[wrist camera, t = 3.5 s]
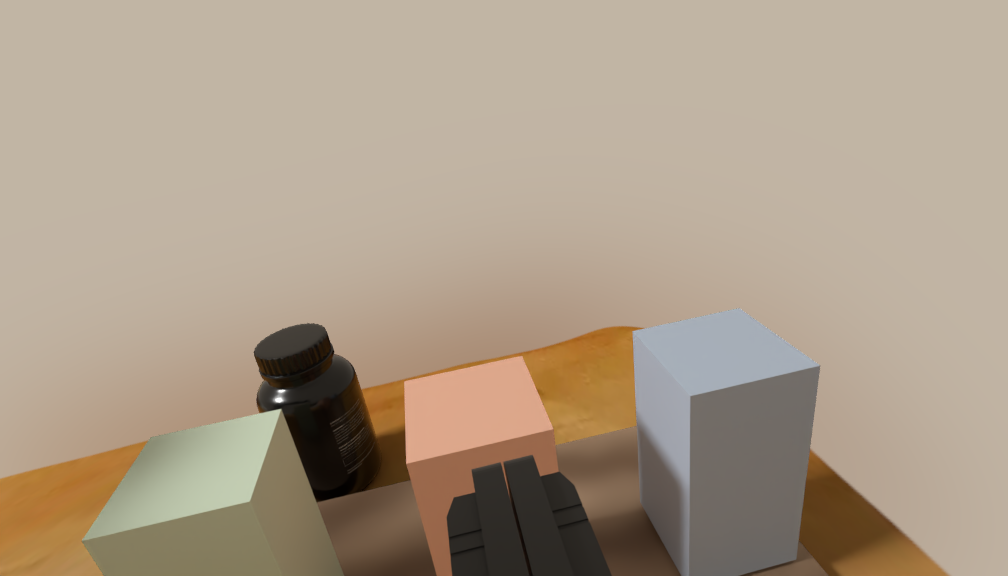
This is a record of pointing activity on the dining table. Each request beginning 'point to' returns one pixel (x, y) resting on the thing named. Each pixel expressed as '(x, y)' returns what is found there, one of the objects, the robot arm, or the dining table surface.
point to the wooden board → (586, 463)
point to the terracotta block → (469, 437)
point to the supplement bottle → (319, 409)
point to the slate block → (723, 441)
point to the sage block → (215, 507)
